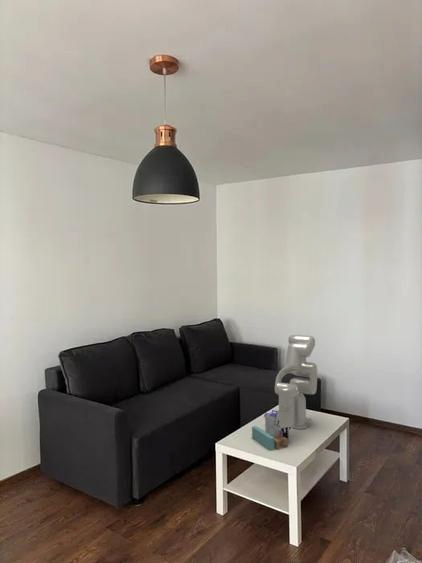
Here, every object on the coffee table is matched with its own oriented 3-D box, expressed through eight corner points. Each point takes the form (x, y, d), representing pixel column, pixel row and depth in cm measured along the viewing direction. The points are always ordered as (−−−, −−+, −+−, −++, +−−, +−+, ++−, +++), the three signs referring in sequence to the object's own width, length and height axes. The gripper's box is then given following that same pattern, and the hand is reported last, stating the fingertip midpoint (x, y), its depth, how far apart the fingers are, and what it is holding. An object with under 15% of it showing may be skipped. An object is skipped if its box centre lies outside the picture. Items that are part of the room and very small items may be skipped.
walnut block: (279, 442, 255) (279, 434, 255) (287, 447, 248) (287, 438, 248) (268, 445, 251) (268, 436, 251) (277, 450, 244) (276, 441, 244)
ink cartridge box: (283, 433, 267) (282, 411, 266) (279, 437, 262) (279, 414, 261) (268, 430, 272) (268, 408, 271) (265, 433, 267) (264, 411, 267)
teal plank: (256, 436, 263) (256, 425, 262) (274, 449, 244) (274, 437, 244) (252, 437, 261) (252, 426, 261) (270, 450, 243) (270, 438, 243)
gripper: (291, 404, 258) (291, 433, 259) (271, 408, 252) (271, 438, 253) (299, 407, 252) (299, 438, 252) (278, 411, 245) (278, 443, 246)
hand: (285, 438), depth 252 cm, fingers closed
